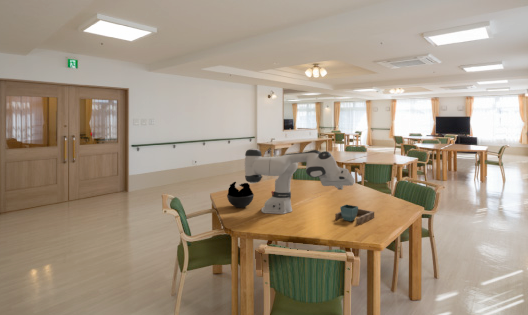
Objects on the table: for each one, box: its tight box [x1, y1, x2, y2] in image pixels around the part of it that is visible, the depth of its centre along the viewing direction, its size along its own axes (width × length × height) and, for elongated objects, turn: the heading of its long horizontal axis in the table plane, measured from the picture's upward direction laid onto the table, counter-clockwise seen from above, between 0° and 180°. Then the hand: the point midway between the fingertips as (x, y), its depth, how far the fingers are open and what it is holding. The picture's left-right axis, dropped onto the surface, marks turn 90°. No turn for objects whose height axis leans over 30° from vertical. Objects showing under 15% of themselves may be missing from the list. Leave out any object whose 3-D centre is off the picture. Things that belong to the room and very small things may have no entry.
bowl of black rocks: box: [226, 181, 255, 209], centre depth 245 cm, size 20×20×19 cm
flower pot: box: [340, 204, 359, 222], centre depth 213 cm, size 9×9×9 cm
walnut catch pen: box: [334, 208, 375, 226], centre depth 216 cm, size 22×16×4 cm
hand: (340, 188), depth 201 cm, fingers closed
